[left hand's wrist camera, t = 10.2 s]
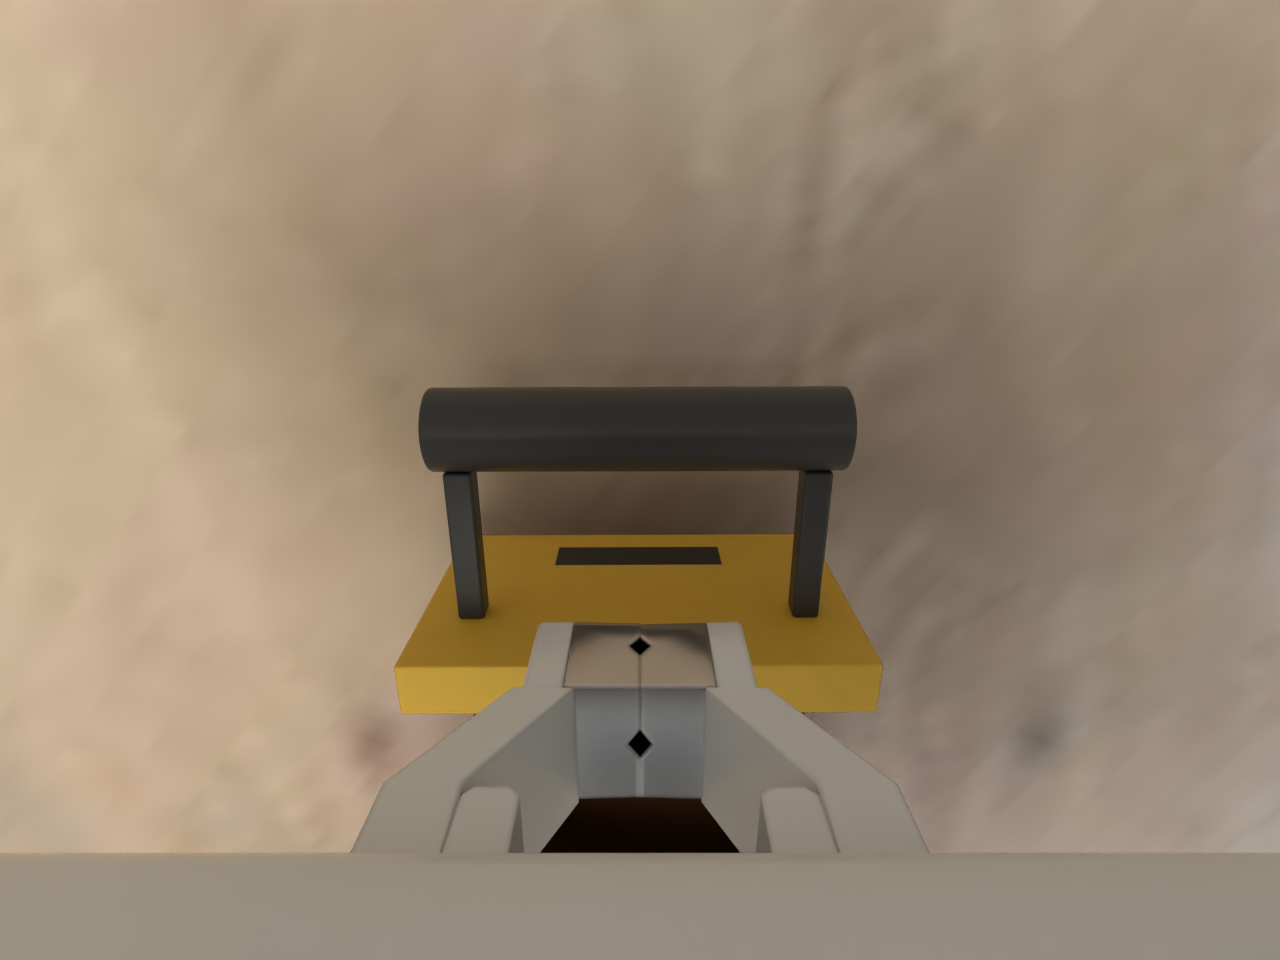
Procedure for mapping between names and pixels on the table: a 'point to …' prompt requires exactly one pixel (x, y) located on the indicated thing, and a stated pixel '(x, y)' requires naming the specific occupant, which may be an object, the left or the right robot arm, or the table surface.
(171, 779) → the table surface
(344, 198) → the table surface
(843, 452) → the drawer
